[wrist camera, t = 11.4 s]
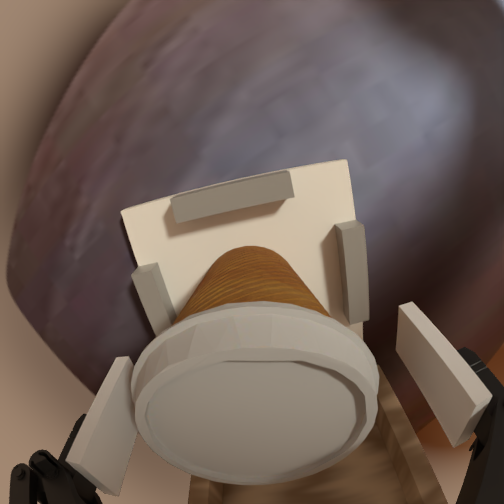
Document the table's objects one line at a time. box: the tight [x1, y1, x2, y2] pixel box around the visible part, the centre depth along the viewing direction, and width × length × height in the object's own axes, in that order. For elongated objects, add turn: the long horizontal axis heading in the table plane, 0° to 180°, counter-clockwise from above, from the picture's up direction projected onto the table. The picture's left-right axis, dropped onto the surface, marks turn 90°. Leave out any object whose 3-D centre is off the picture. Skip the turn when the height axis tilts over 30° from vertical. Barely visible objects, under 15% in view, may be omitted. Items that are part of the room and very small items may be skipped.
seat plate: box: [121, 159, 369, 340], centre depth 20 cm, size 15×15×2 cm
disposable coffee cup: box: [131, 246, 379, 485], centre depth 14 cm, size 10×10×12 cm
